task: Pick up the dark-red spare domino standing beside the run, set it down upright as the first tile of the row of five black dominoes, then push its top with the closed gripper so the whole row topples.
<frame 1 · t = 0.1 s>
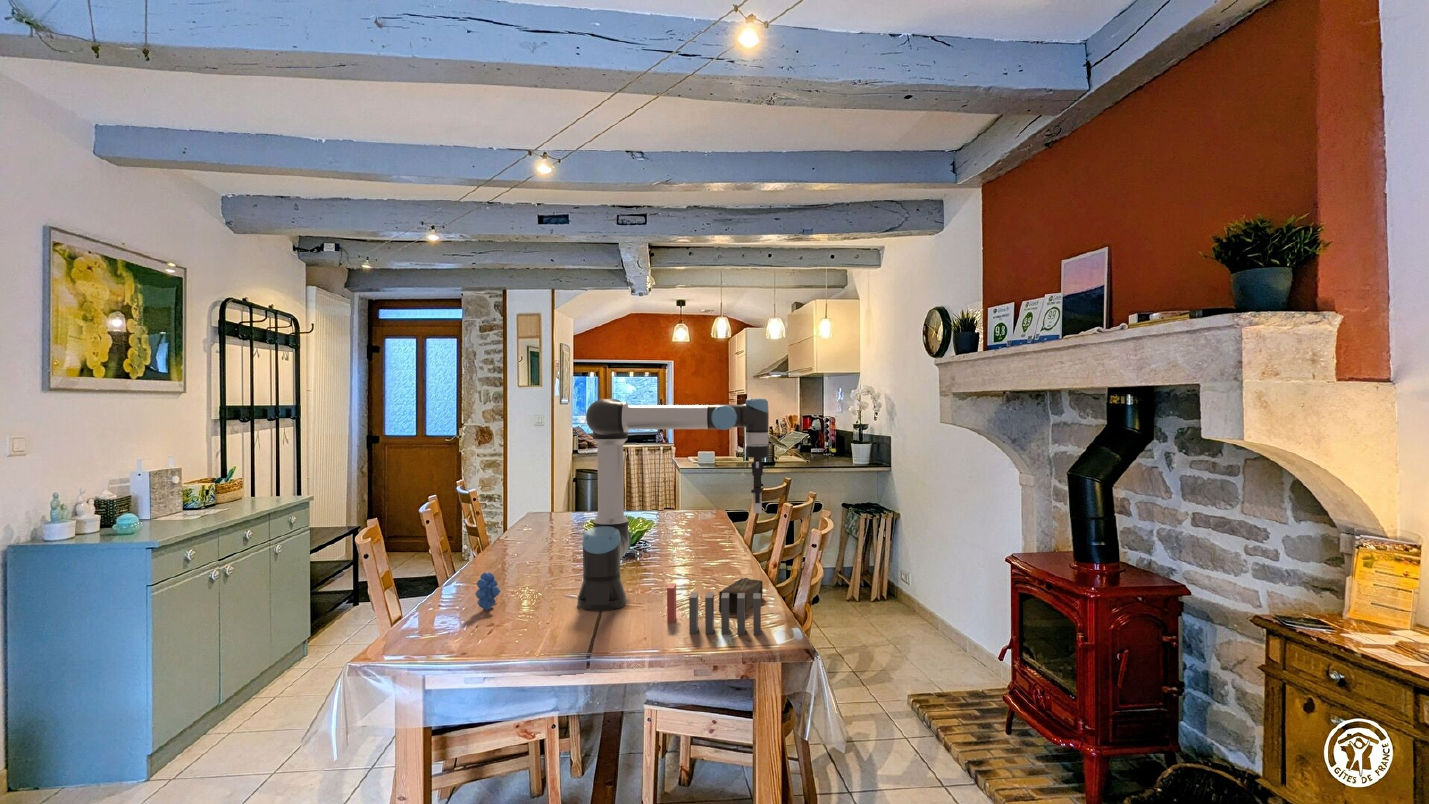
hand: (757, 509, 226), 28 cm above the table, fingers open, 13 cm apart
domino red: (671, 619, 201), on the table
domino 6: (757, 631, 190), on the table
beverage carton: (741, 605, 215), on the table
domino 5: (741, 631, 190), on the table
domino 2: (693, 630, 191), on the table
domino 3: (709, 631, 191), on the table
grapes: (490, 611, 211), on the table
domino 4: (725, 631, 191), on the table
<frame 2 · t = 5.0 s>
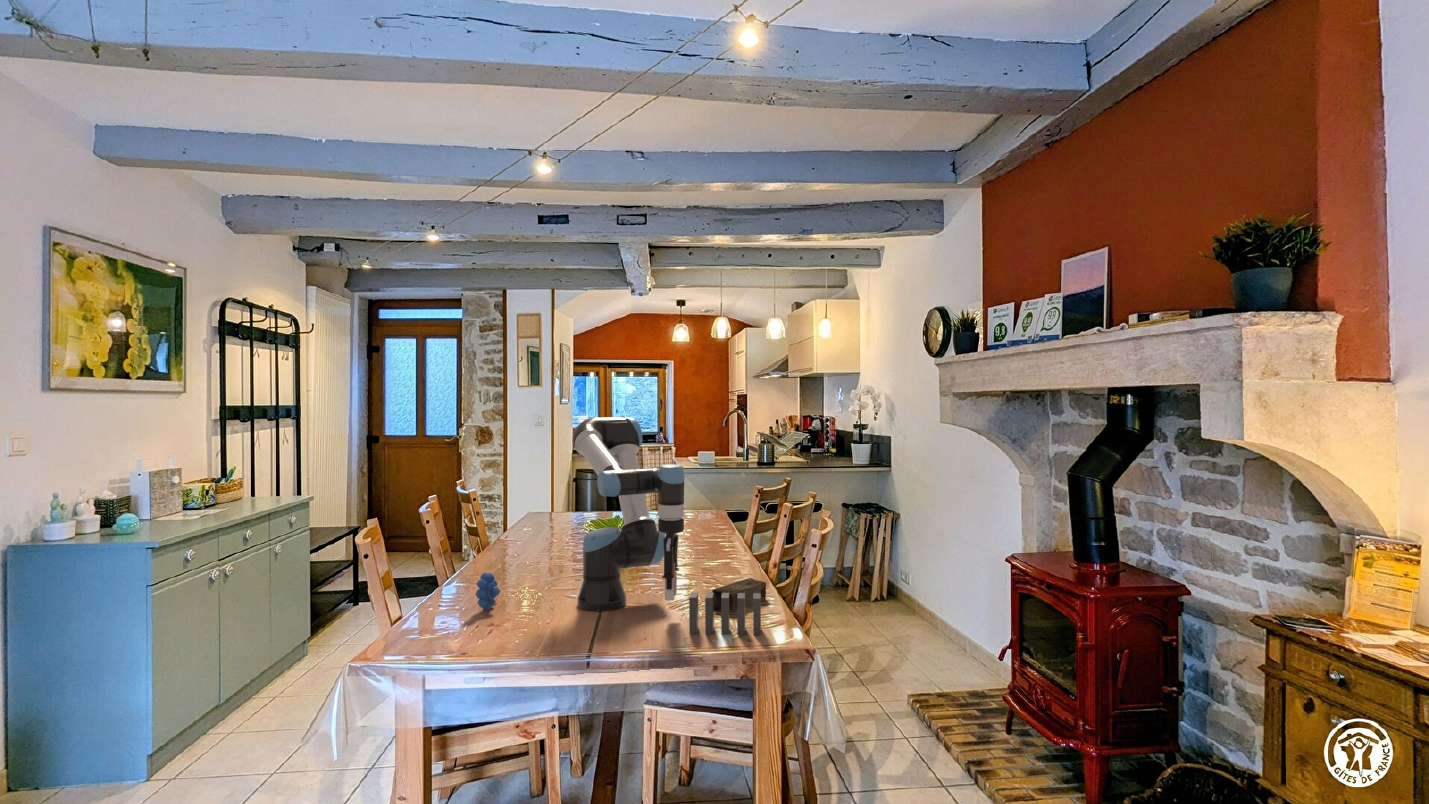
hand: (670, 596, 201), 7 cm above the table, fingers closed on domino red, 5 cm apart
domino red: (670, 597, 201), point 6 cm above the table, touching gripper
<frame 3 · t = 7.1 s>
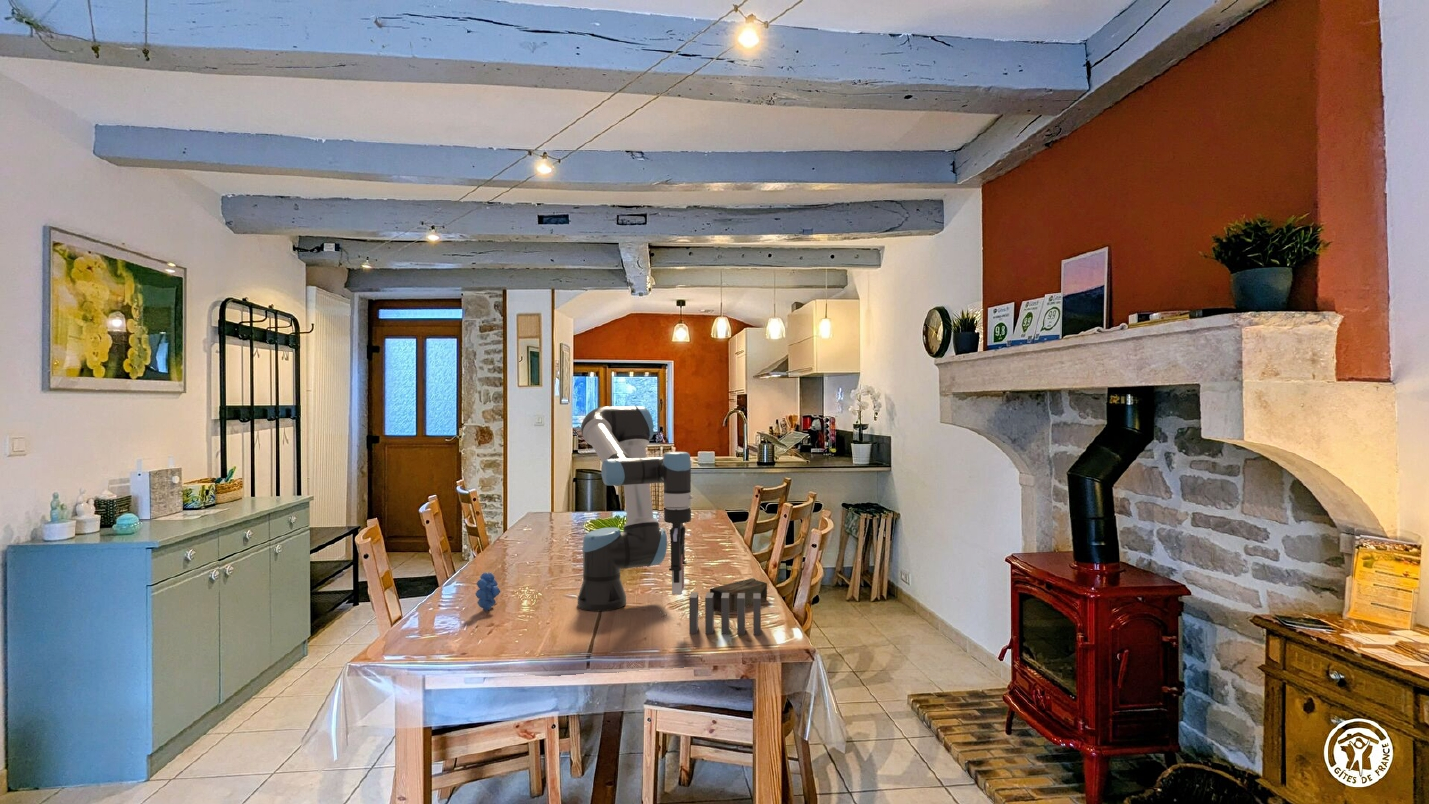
hand: (678, 590, 191), 11 cm above the table, fingers closed on domino red, 5 cm apart
domino red: (678, 591, 191), point 11 cm above the table, touching gripper
when the fingers open (0 cm above the table, at t = 9.2 s): domino red stays where it is, on the table.
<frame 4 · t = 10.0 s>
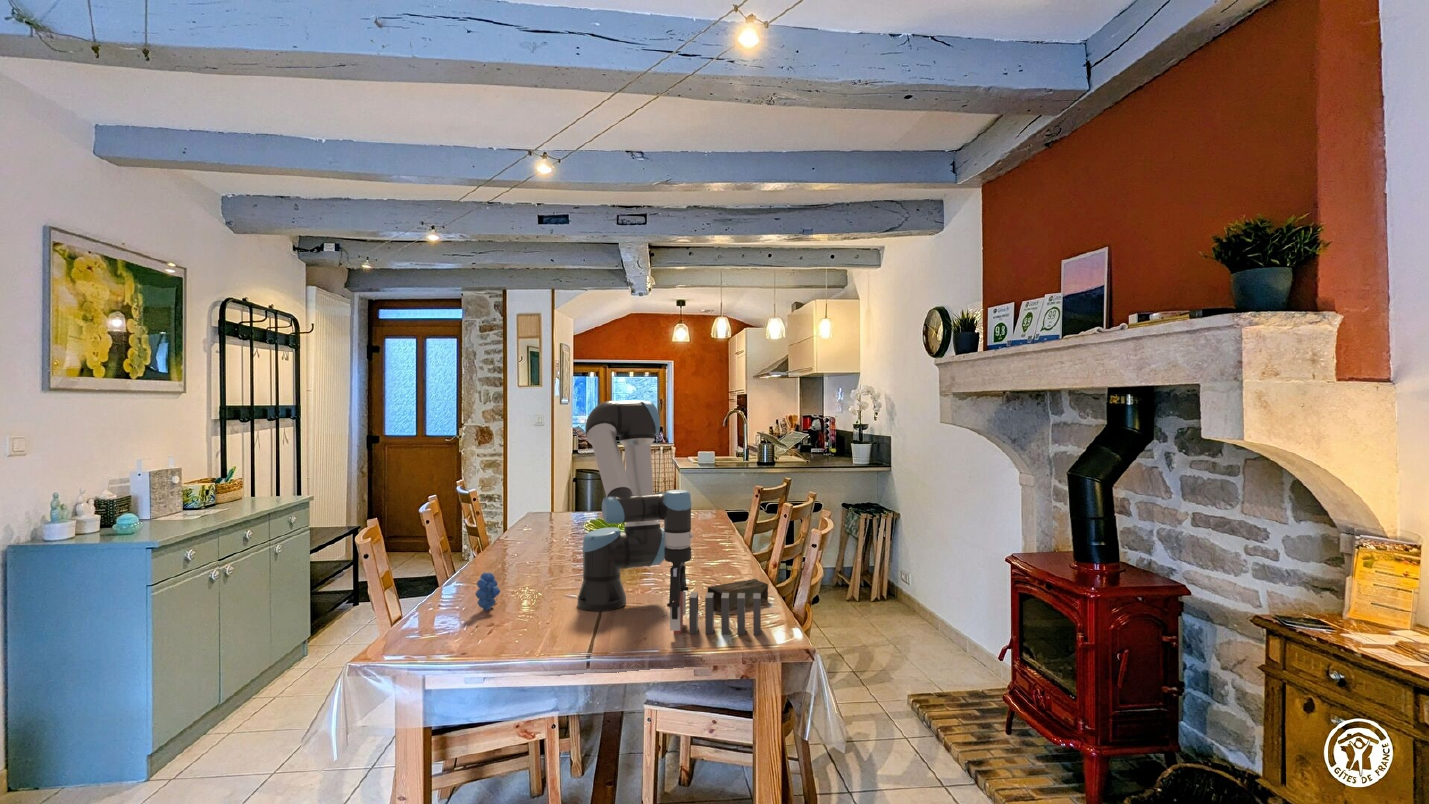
hand: (678, 622, 192), 2 cm above the table, fingers open, 13 cm apart
domino red: (678, 630, 192), on the table
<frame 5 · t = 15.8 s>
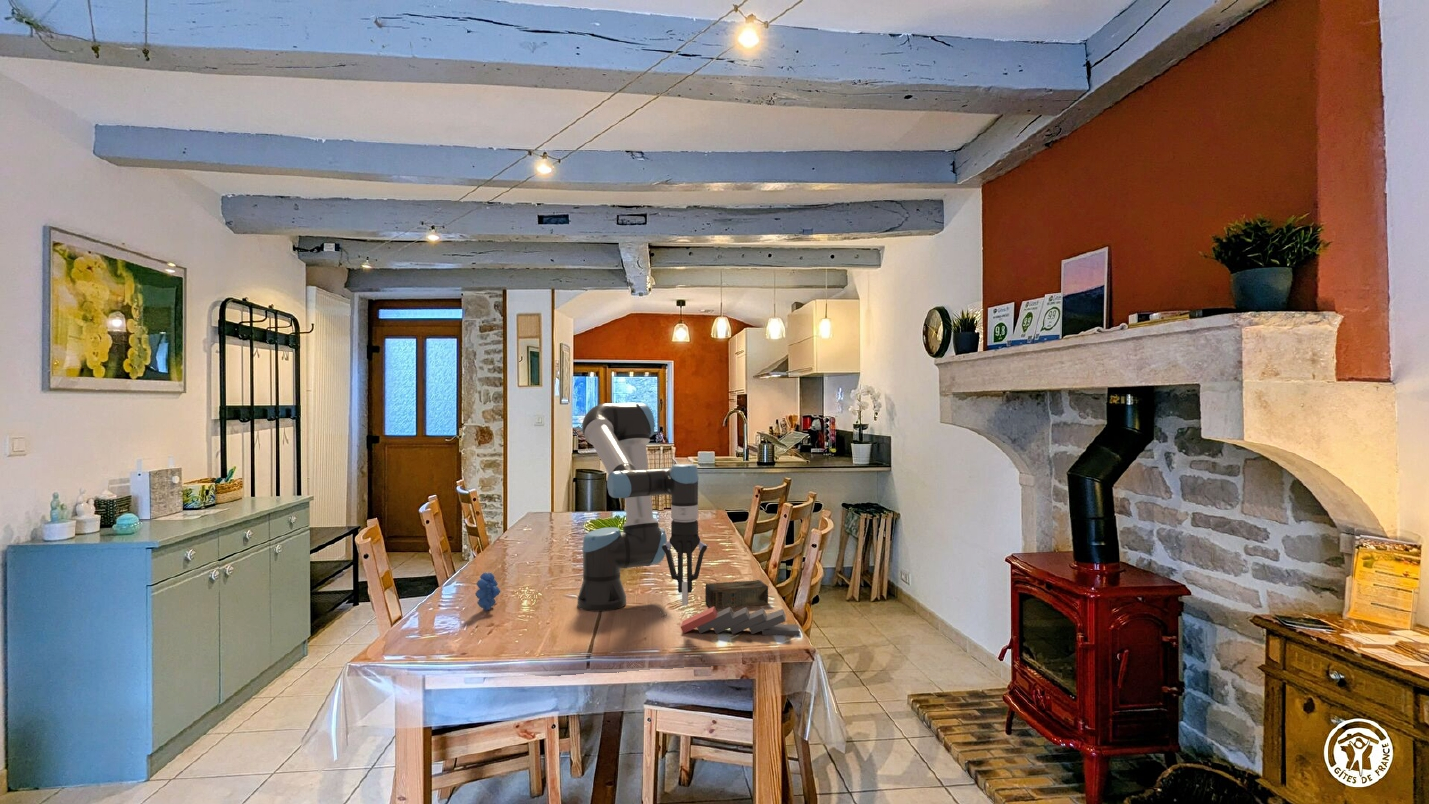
hand: (685, 604, 191), 7 cm above the table, fingers closed
domino red: (683, 627, 191), point 1 cm above the table, tilted 64°
domino 6: (762, 630, 190), on the table, tilted 90°, touching domino 5
domino 5: (750, 627, 190), point 1 cm above the table, tilted 67°, touching domino 4, domino 6
domino 2: (699, 627, 191), point 1 cm above the table, tilted 64°, touching domino 3
domino 3: (715, 627, 191), point 1 cm above the table, tilted 64°, touching domino 2, domino 4
domino 4: (732, 628, 190), point 1 cm above the table, tilted 65°, touching domino 3, domino 5
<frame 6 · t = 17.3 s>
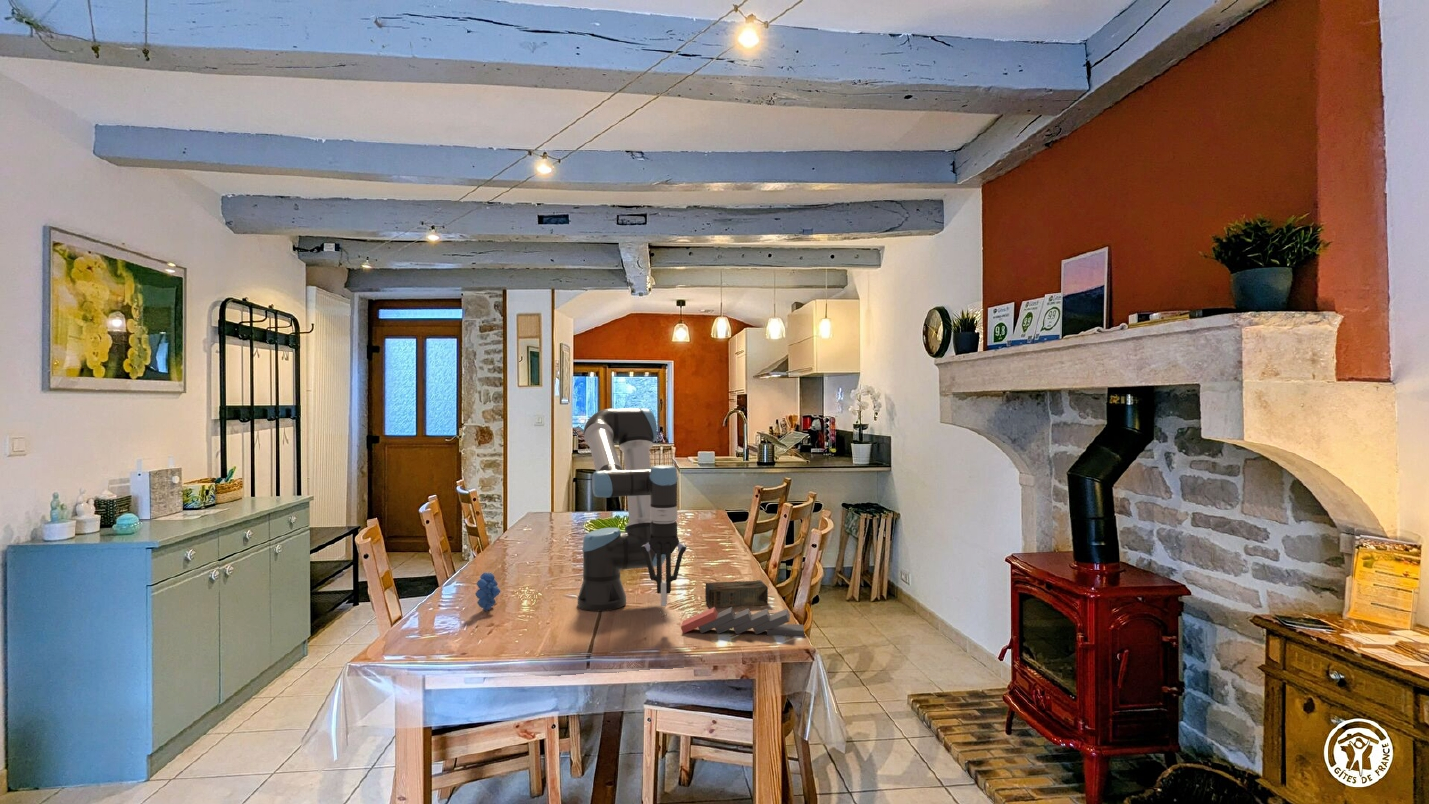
hand: (664, 604, 192), 7 cm above the table, fingers closed
domino red: (683, 627, 191), point 1 cm above the table, tilted 65°, touching domino 2
domino 6: (767, 630, 190), on the table, tilted 90°, touching domino 5
domino 5: (755, 628, 190), point 1 cm above the table, tilted 66°, touching domino 4, domino 6
domino 2: (700, 627, 191), point 1 cm above the table, tilted 65°, touching domino 3, domino red
domino 3: (717, 627, 191), point 1 cm above the table, tilted 66°, touching domino 2
domino 4: (735, 628, 190), point 1 cm above the table, tilted 66°, touching domino 5
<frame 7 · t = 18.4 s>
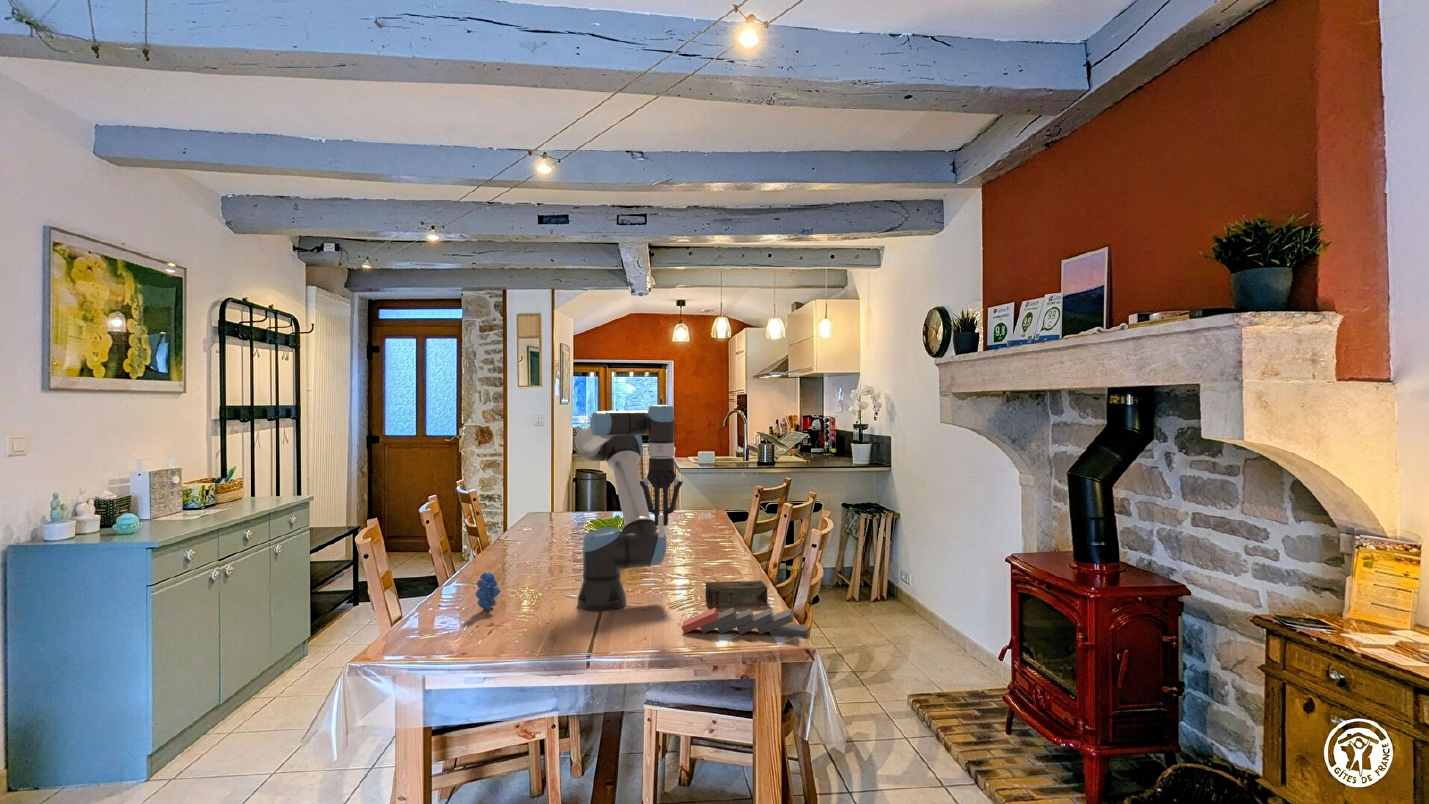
hand: (661, 536, 203), 24 cm above the table, fingers closed
domino 5: (759, 627, 190), point 1 cm above the table, tilted 66°, touching domino 4, domino 6
domino 3: (719, 627, 191), point 1 cm above the table, tilted 67°, touching domino 2, domino 4
domino 4: (739, 628, 190), point 1 cm above the table, tilted 65°, touching domino 3, domino 5
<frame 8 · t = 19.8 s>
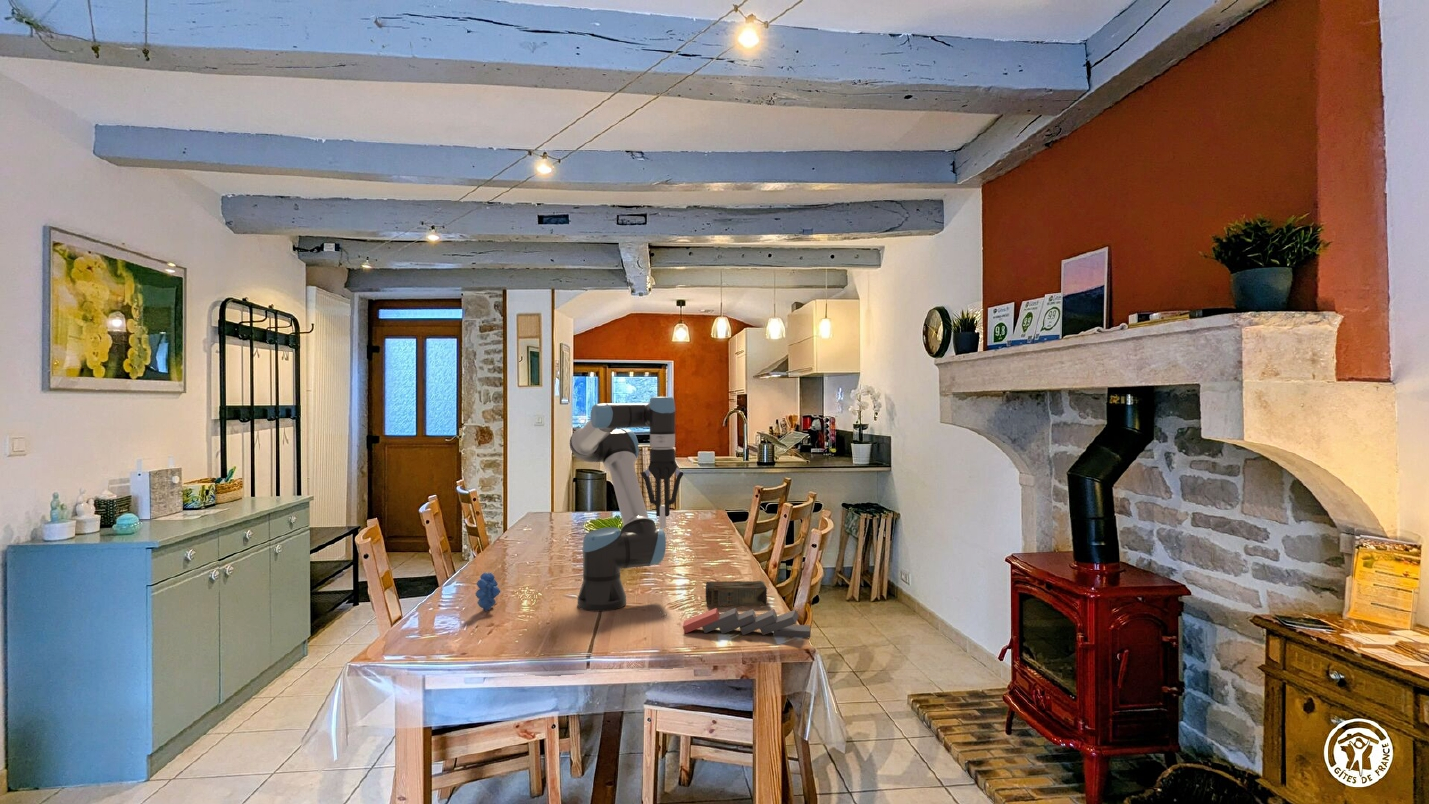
hand: (663, 527, 205), 26 cm above the table, fingers closed
domino 5: (763, 628, 189), point 1 cm above the table, tilted 66°, touching domino 4, domino 6
domino 4: (742, 628, 190), point 1 cm above the table, tilted 65°, touching domino 3, domino 5
at the end: domino 6 tilted 90°; domino red tilted 67°; domino red inside the target area (0.9 cm from its centre), point 0.9 cm above the table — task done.
